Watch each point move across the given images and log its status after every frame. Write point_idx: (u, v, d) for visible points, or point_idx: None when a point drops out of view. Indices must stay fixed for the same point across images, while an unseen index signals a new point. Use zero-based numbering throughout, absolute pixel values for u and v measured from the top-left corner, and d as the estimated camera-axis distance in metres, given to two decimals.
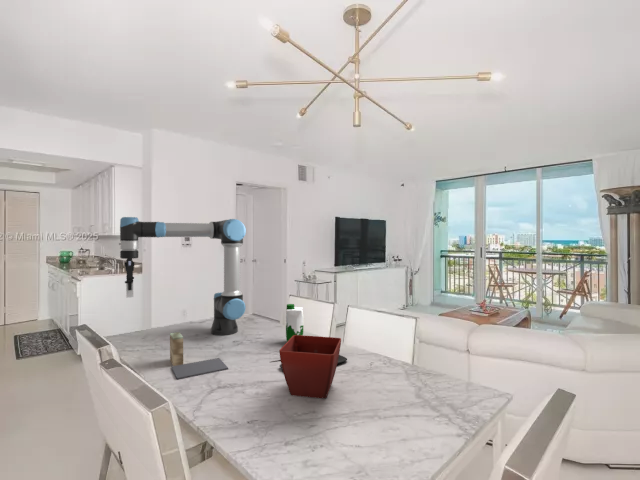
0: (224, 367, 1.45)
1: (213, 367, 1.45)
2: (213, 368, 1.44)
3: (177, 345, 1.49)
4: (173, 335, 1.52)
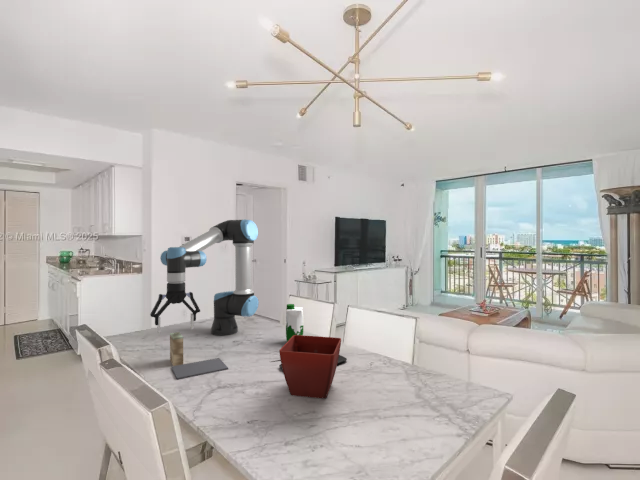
0: (224, 367, 1.45)
1: (213, 367, 1.45)
2: (213, 368, 1.44)
3: (177, 345, 1.49)
4: (173, 335, 1.52)
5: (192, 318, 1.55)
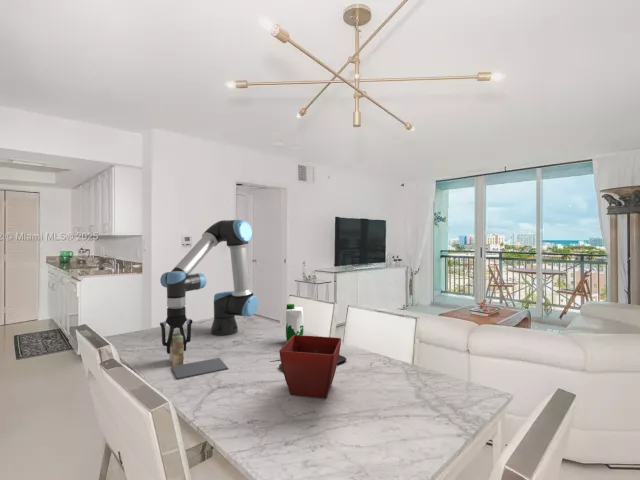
0: (224, 367, 1.45)
1: (213, 367, 1.45)
2: (213, 368, 1.44)
3: (177, 345, 1.49)
4: (173, 335, 1.52)
5: None
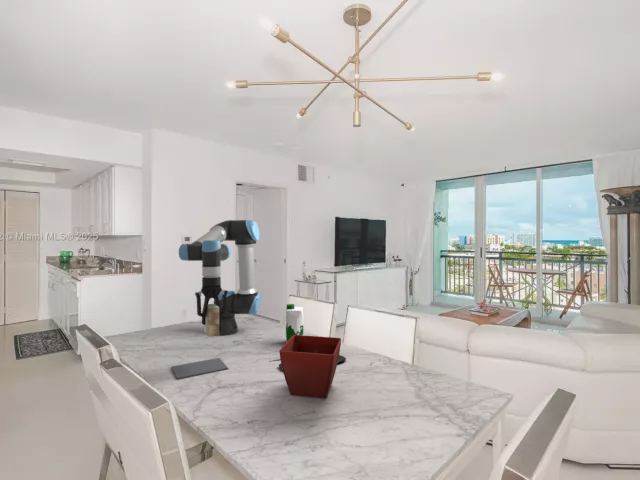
0: (224, 367, 1.45)
1: (213, 367, 1.45)
2: (213, 368, 1.44)
3: (213, 315, 1.44)
4: (208, 306, 1.47)
5: None
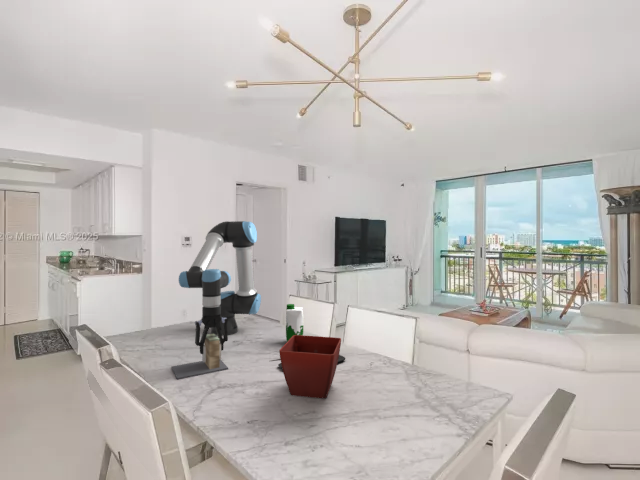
0: (224, 367, 1.45)
1: None
2: (213, 368, 1.44)
3: (213, 347, 1.44)
4: (208, 337, 1.48)
5: (220, 348, 1.49)
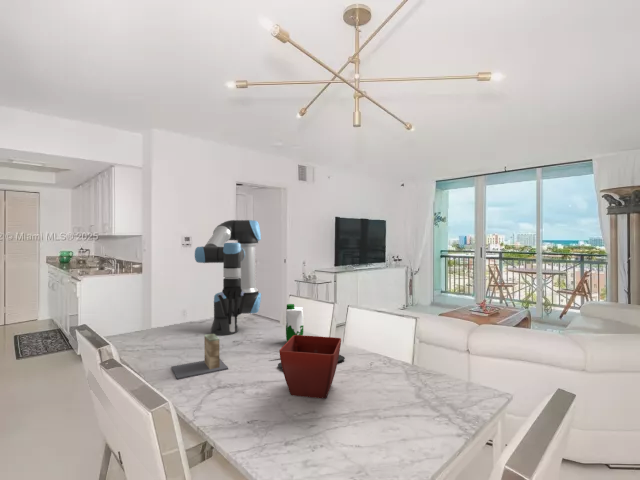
0: (224, 367, 1.45)
1: None
2: (213, 368, 1.44)
3: (213, 347, 1.44)
4: (208, 337, 1.48)
5: (233, 321, 1.52)
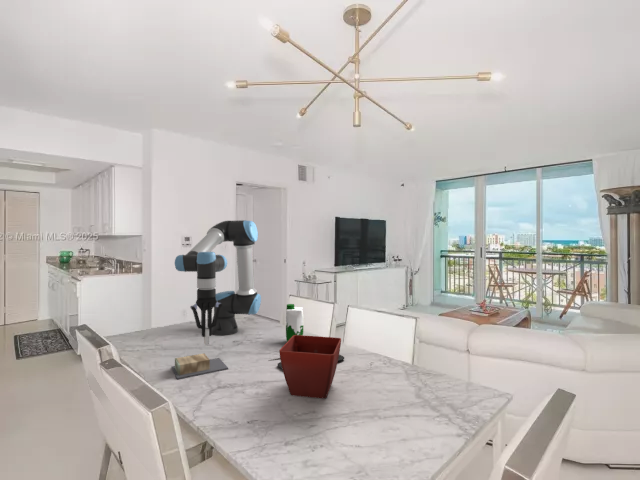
0: (224, 367, 1.45)
1: (213, 367, 1.45)
2: (213, 368, 1.44)
3: (187, 369, 1.39)
4: (176, 369, 1.41)
5: (207, 333, 1.46)
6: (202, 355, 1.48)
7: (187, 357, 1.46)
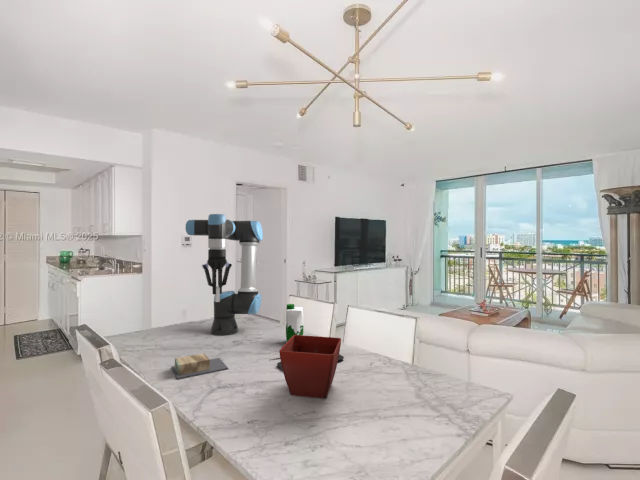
0: (224, 367, 1.45)
1: (213, 367, 1.45)
2: (213, 368, 1.44)
3: (187, 369, 1.39)
4: (176, 369, 1.41)
5: (218, 291, 1.54)
6: (202, 355, 1.48)
7: (187, 357, 1.46)
